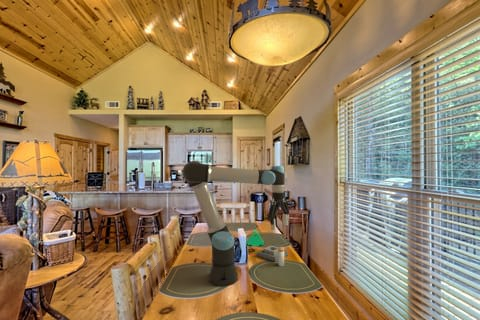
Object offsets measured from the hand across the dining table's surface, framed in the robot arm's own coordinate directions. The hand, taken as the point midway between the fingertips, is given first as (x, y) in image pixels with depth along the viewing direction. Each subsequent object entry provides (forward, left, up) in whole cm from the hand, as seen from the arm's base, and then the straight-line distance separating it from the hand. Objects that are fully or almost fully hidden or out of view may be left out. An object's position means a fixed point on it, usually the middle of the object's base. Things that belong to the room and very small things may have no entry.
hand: (279, 227), depth 152 cm
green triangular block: (+19, +34, -22) cm, 45 cm away
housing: (+8, +11, -22) cm, 26 cm away
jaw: (0, -1, -22) cm, 22 cm away
